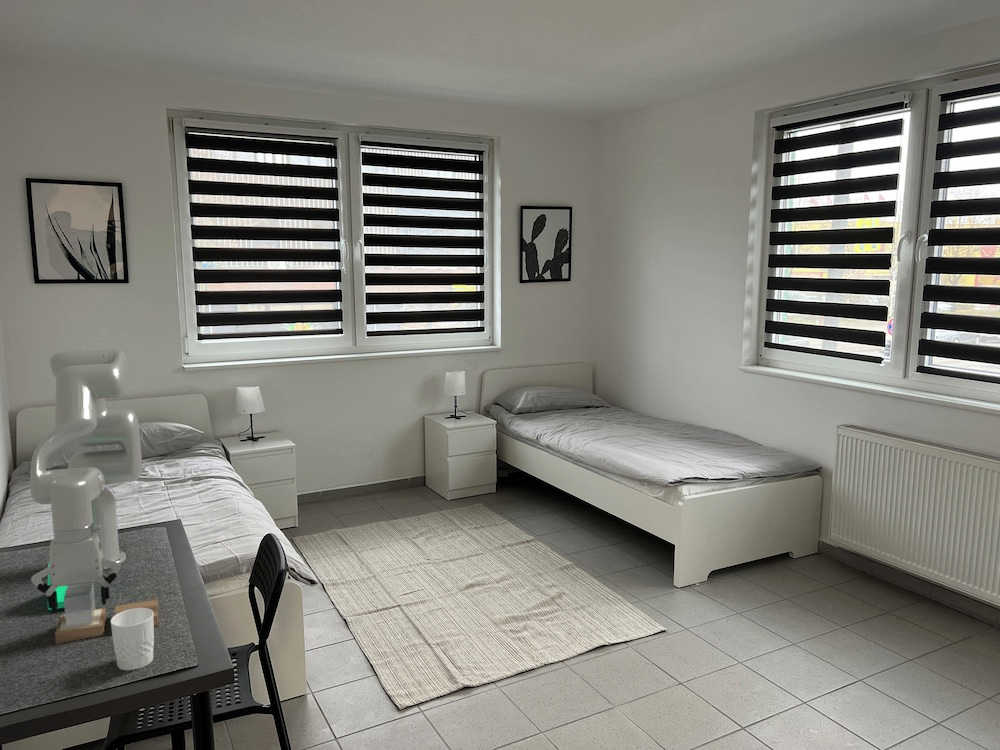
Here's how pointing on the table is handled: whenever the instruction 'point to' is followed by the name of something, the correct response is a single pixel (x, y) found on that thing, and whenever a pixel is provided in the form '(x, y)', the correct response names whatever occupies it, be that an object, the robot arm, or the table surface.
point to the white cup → (133, 638)
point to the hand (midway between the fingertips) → (80, 606)
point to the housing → (79, 604)
